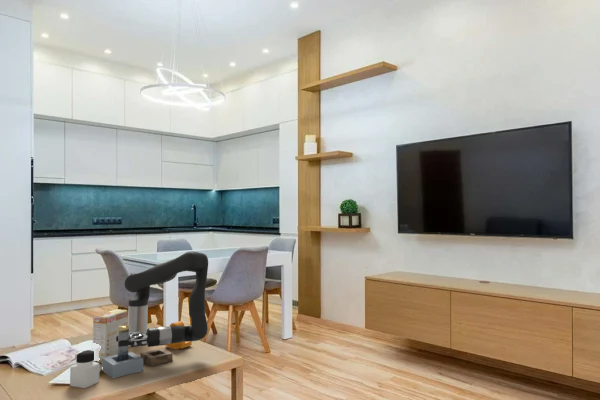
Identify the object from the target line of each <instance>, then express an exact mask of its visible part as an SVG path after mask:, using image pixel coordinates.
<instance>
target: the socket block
mask: <svg viewBox="0 0 600 400" xmlns="http://www.w3.org/2000/svg"><path fill="white" fill-rule="evenodd" d="M139 356H140V357H142V358H143V363H145V364H147V365H149V366H156V365H159V364H163V363H167V362H172V361H173V357H174V355H173V352H170V351H169V350H166V349H165V348H158V349H153V350H148V351H145V352H144V351H143V352H140V355H139Z"/></svg>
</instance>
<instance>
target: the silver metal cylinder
mask: <svg viewBox="0 0 600 400" xmlns="http://www.w3.org/2000/svg"><path fill="white" fill-rule="evenodd" d="M121 340H129V326H119V327H118V342H119V341H121ZM129 347H130V346H129V345H128V346H121V347H119V346H118V362H120V361H125V360H128V352H129Z"/></svg>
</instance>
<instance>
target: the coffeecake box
mask: <svg viewBox="0 0 600 400" xmlns="http://www.w3.org/2000/svg"><path fill="white" fill-rule="evenodd" d="M92 319H93V321H92V322H93V324H92V325H93V326H92V344H93V343H96V344H99V345H100V346H101V349H100V351H99V358H100V360H99V362H98V363H102V358H103V357H108V356H113V355H118V342H117V341H116V336H118V327H119V326H128V310H127V309H121V308H120V309H118V308H116V309H112V310H110V311H106V312H104V313H99V314H97V315H93V318H92Z"/></svg>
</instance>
